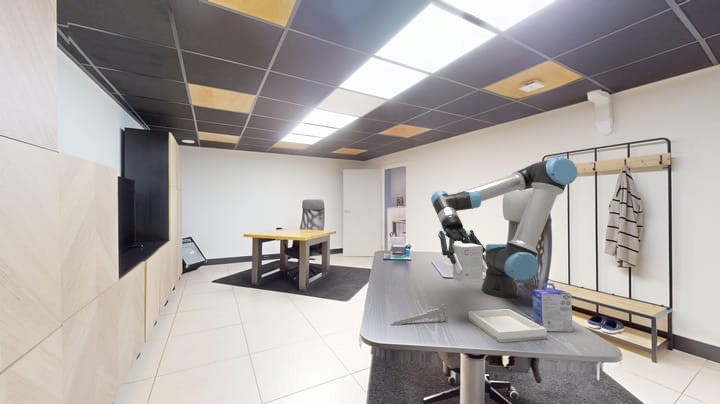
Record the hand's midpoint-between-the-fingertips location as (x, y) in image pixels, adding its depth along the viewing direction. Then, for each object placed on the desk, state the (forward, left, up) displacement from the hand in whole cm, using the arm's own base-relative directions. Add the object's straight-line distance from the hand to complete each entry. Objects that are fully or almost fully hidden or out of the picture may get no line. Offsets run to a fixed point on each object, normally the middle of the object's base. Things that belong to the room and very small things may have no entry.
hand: (472, 270), depth 88 cm
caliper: (+18, -4, -19) cm, 26 cm away
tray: (-9, +4, -18) cm, 21 cm away
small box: (0, -3, -5) cm, 6 cm away
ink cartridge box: (-25, +6, -19) cm, 32 cm away
